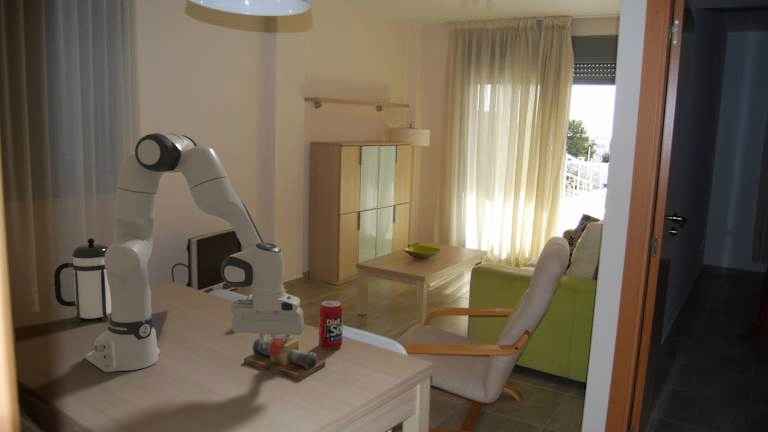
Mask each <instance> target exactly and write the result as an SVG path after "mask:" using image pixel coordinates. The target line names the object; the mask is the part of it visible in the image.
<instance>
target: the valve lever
mask: <svg viewBox="0 0 768 432" xmlns="http://www.w3.org/2000/svg"><path fill="white" fill-rule="evenodd" d="M287 337H288V338H290V337H291V335H286V334H277V336H276V338H275V339H274V341H273V343H272V344H271V346H270V355H280V353H281V351H282V349H283V347H284V341H285V340H286V338H287Z"/></svg>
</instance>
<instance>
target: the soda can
mask: <svg viewBox="0 0 768 432" xmlns="http://www.w3.org/2000/svg"><path fill="white" fill-rule="evenodd" d="M320 304H321V305H320V306H319V308H318V346H320V348H323V349H324V350H336V349H338V348H340V347H341V346H342V345H343V330H344V328H343V327H344V326H343V323H344V322H343V321H344V317H343V316H344V307H343V306H342V302H340V301H339V300H325V301H322V302H321V303H320Z"/></svg>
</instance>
